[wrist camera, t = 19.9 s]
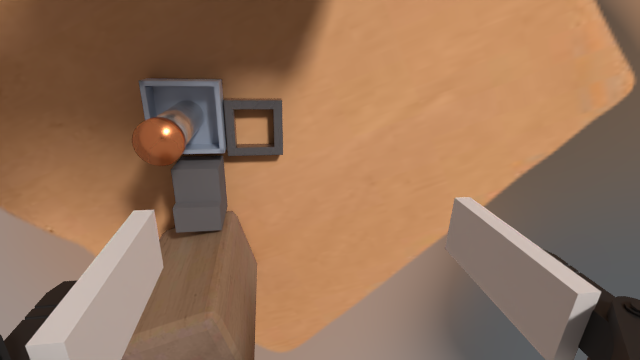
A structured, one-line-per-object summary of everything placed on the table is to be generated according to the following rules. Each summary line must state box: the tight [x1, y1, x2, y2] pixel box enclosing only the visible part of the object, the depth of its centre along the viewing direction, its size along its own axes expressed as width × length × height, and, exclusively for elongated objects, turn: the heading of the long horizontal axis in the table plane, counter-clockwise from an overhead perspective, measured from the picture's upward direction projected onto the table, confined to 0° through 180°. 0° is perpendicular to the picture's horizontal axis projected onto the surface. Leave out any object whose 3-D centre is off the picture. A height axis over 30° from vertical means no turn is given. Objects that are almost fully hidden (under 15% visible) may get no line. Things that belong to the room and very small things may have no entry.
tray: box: [139, 78, 227, 154], centre depth 38 cm, size 8×8×3 cm
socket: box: [224, 99, 283, 156], centre depth 40 cm, size 7×7×2 cm
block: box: [121, 211, 257, 360], centre depth 37 cm, size 10×10×20 cm
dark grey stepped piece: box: [171, 156, 227, 233], centre depth 40 cm, size 7×5×6 cm
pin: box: [132, 101, 204, 166], centre depth 33 cm, size 4×4×12 cm
